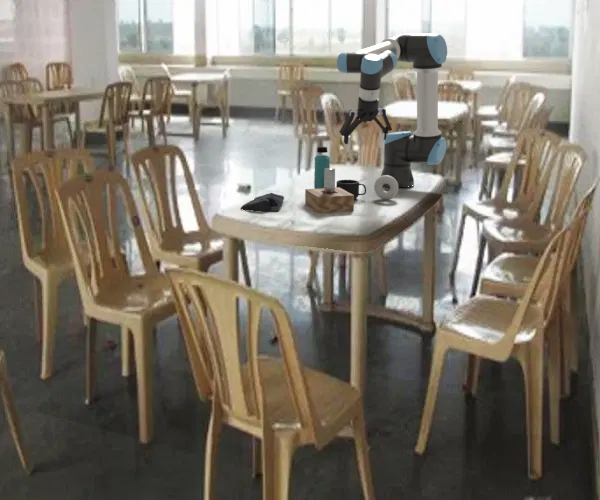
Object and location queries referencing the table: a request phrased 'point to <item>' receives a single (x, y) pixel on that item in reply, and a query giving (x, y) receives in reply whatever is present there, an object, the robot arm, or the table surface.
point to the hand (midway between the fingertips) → (364, 149)
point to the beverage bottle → (320, 167)
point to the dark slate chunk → (265, 203)
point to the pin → (329, 181)
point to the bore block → (329, 200)
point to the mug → (350, 187)
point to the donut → (392, 183)
